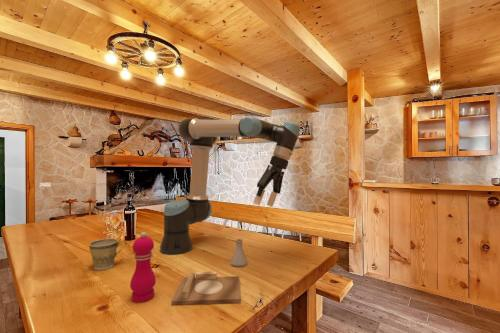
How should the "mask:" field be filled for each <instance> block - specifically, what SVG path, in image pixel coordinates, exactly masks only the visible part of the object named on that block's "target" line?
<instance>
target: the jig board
mask: <svg viewBox="0 0 500 333" xmlns="http://www.w3.org/2000/svg"><path fill="white" fill-rule="evenodd" d="M217 275H218V274H217V271H197V272H190V273H189V274H188V277H182V278H181V279H180V282H179V284H178V286H177V288H176V290H175V292H174V294H173V297H172V299H171V302H170V303H171V306H188V305H189V304H190V305H192V304H193V305H214V304H215V305H216V304H218V305H221V304H222V305H224V304H226V305H227V304H241V289H240V288H241V287H240V276H238V275H237V276H236V275H235V276H217ZM187 304H188V305H187Z"/></svg>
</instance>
